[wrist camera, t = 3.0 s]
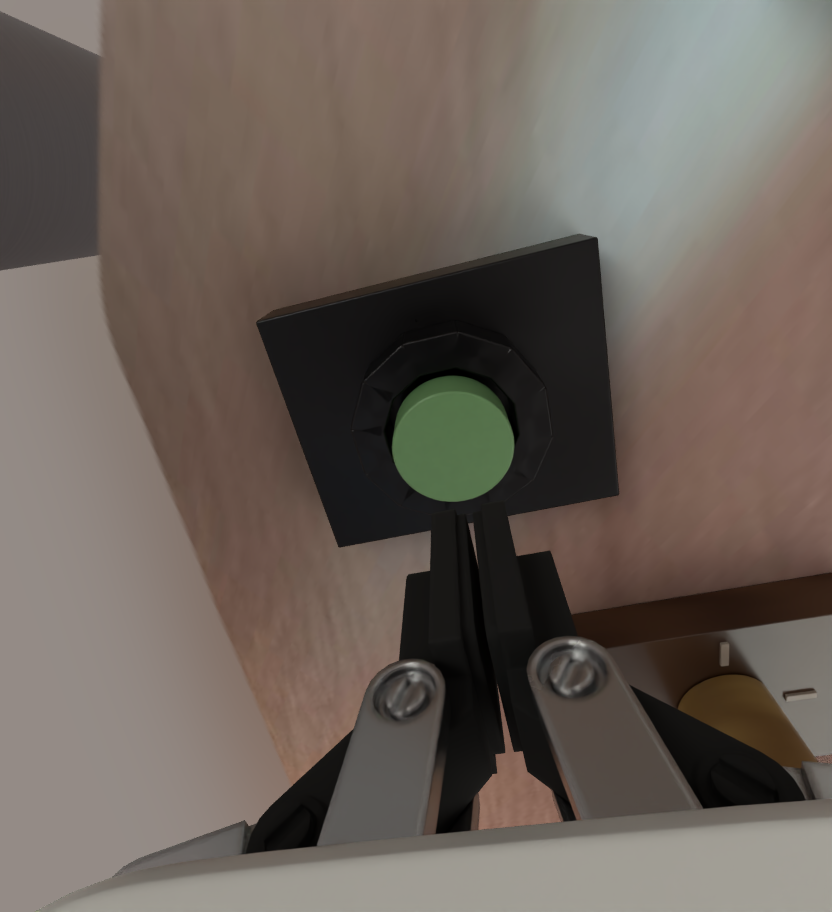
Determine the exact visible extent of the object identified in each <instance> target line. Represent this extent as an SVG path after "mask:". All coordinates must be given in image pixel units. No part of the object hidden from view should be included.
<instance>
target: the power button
mask: <svg viewBox="0 0 832 912" xmlns="http://www.w3.org/2000/svg"><path fill="white" fill-rule="evenodd" d="M392 454H393V459H394V462H395V465H396V468H397V470H398V472H399V473H400V475H401V476H402V478H403V479H404V480H405V481H406V482H407V484H408V485H409V486H411V487H412V488H413V489H414V490H416V491H417V492H419V493H420V494H422V495H424V496H427V497H429V498H432V499H435V500H440V501H447V502H458V501H465V500H469V499H473V498H475V497H478V496H480V495H482V494H484V493H486V492H488V491H489V490H490V489H492V488H493V487H494V486H495V485H497V484H498V483H499V481H500V480H501V479H502V478H503V477H504V475H505V474H506V472H507V471H508V469H509V467H510V465H511V462H512V459H513V454H514V435H513V431H512V428H511V425H510V422H509V420H508V417H507V414H506V411H505V409H504V407H503V404H502V403H501V401H500V399H499V398H498V397H497V396H496V394H495V393H494V392H493V391H492V390H491V389H490V388H488V387H487V386H485V385H484V384H482V383H480V382H478V381H476V380H474V379H471V378H467V377H463V376H443V377H438V378H434V379H431V380H429V381H426V382H424V383H423V384H421V385H419V386H418V387H416V388H415V389H414V390H413V391H412V392H411V393H410V394H409V395H408V396H407V397H406V398H405V400H404V401H403V403H402V404H401V406H400V408H399V411H398V413H397V417H396V421H395V428H394V434H393V441H392Z"/></svg>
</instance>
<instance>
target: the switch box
mask: <svg viewBox="0 0 832 912" xmlns="http://www.w3.org/2000/svg"><path fill="white" fill-rule="evenodd" d="M256 324H257V327H258V329H259V332H260V335H261V338H262V340H263V343H264V346H265V348H266V351H267V354H268V357H269V359H270V362H271V365H272V367H273V370H274V373H275V376H276V378H277V381H278V384H279V387H280V389H281V392H282V395H283V397H284V400H285V403H286V406H287V408H288V411H289V414H290V416H291V419H292V422H293V425H294V427H295V430H296V433H297V435H298V438H299V441H300V444H301V446H302V449H303V452H304V455H305V457H306V460H307V463H308V465H309V468H310V471H311V474H312V476H313V479H314V482H315V484H316V487H317V490H318V493H319V495H320V498H321V501H322V503H323V506H324V509H325V512H326V514H327V517H328V520H329V523H330V525H331V528H332V531H333V533H334V536H335V539H336V542H337V544H338V547H345V546H350V545H355V544H361V543H366V542H371V541H377V540H382V539H387V538H393V537H398V536H403V535H409V534H414V533H419V532H425V531H430V530H431V520H432V513H437V512H442V511H448V510H453V509H455V510H456V513H457V515H460V514H466V517H467V521H468V523H473V512H477V511H481V504H486V503H491V502H497V501H502V500H504V503H505V507H506V512H507V516H510V515H516V514H521V513H526V512H532V511H537V510H542V509H548V508H553V507H558V506H564V505H569V504H574V503H580V502H585V501H590V500H596V499H601V498H606V497H612V496H617V495H619V486H618V474H617V462H616V450H615V439H614V427H613V415H612V403H611V391H610V379H609V367H608V355H607V343H606V331H605V319H604V307H603V295H602V284H601V272H600V260H599V248H598V239H597V237H592V236H587V235H582V234H577V235H573V236H569V237H565V238H561V239H557V240H553V241H549V242H545V243H541V244H537V245H533V246H529V247H525V248H521V249H517V250H513V251H509V252H505V253H501V254H497V255H493V256H489V257H485V258H481V259H477V260H473V261H469V262H465V263H461V264H457V265H453V266H449V267H445V268H441V269H437V270H433V271H429V272H425V273H421V274H417V275H413V276H409V277H405V278H401V279H397V280H393V281H389V282H385V283H381V284H377V285H373V286H369V287H365V288H361V289H357V290H353V291H349V292H345V293H341V294H337V295H333V296H329V297H325V298H321V299H317V300H313V301H309V302H305V303H301V304H297V305H293V306H289V307H285V308H281V309H277V310H273V311H271V312H270V313H269V314H267V315H266V316H264V317H263V318H261V319H260V320H258V321H257V322H256ZM443 376H463V377H467V378H471V379H474V380H476V381H478V382H480V383H482V384H484V385H485V386H487V387H488V388H490V389H491V390H492V391H493V392H494V393H495V394H496V396H497V397H498V398H499V399H500V401H501V403H502V404H503V407H504V409H505V411H506V414H507V417H508V420H509V422H510V425H511V428H512V431H513V435H514V454H513V459H512V462H511V465H510V467H509V469H508V471H507V472H506V474H505V475H504V477H503V478H502V479H501V480H500V481H499V483H498V484H497V485H495V486H494V487H493V488H492V489H490V490H489V491H488V492H486V493H484V494H482V495H480V496H478V497H475V498H473V499H469V500H465V501H458V502H447V501H440V500H435V499H432V498H429V497H427V496H424V495H422V494H420V493H419V492H417V491H416V490H414V489H413V488H412V487H411V486H409V485H408V484H407V482H406V481H405V480H404V479H403V478H402V476H401V475H400V473H399V472H398V470H397V468H396V465H395V462H394V459H393V454H392V441H393V434H394V428H395V421H396V417H397V413H398V411H399V408H400V406H401V404H402V403H403V401H404V400H405V398H406V397H407V396H408V395H409V394H410V393H411V392H412V391H413V390H414V389H415V388H416V387H418V386H419V385H421V384H423V383H424V382H426V381H429V380H431V379H434V378H438V377H443Z"/></svg>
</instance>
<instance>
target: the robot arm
mask: <svg viewBox="0 0 832 912" xmlns="http://www.w3.org/2000/svg"><path fill="white" fill-rule="evenodd" d="M473 522H474V531H475V540H476V549H477V559H478V564H477V560H476V556H475V552H474V547H473V543H472V539H471V534H470V530H469V526H468V521H467V517H466V514H460V515H457V513H456V510H455V509H453V510H448V511H442V512H437V513H432V520H431V559H430V571H426V572H420V573H414V574H408V576H407V579H406V588H405V599H404V611H403V622H402V633H401V644H400V655H399V661H397V662H395V663H392V664H390V665H388V666H387V667H385V668H384V669H382V670H381V671H379V672H378V673H377V675H376V676H375V677H374V678H373V679H372V680H371V682H370V684H369V686H368V688H367V690H366V692H365V695H364V698H363V701H362V704H361V708H360V711H359V714H358V717H357V720H356V723H355V726H354V729H353V730H352V731H351V732H350V733H349V734H348V735H347V736H345V737H344V738H343V739H342V740H341V741H340V742H339V743H338V744H337V745H336V746H335V747H334V748H333V749H331V750H330V751H329V752H328V753H327V754H326V755H325V756H324V757H323V758H322V759H321V760H320V761H319V762H317V763H316V764H315V765H314V766H313V767H312V768H311V769H310V770H309V771H308V772H307V773H306V774H305V775H303V776H302V777H301V778H300V779H299V780H298V781H297V782H296V783H295V784H294V785H293V786H292V787H291V788H289V789H288V790H287V791H286V792H285V793H284V794H283V795H282V796H281V797H280V798H279V799H278V800H277V801H275V802H274V803H273V804H272V805H271V806H270V807H269V809H268V810H267V811H266V812H265V813H264V814H263V815H262V816H261V818H260V819H259V821H258V822H257V823H256V824H254V825H251V826H248V824H247V823H246V821H245V820H244V821H241V822H239V823H236V824H233V825H230V826H228V827H225V828H222V829H219V830H216V831H214V832H211V833H208V834H205V835H203V836H200V837H197V838H194V839H192V840H188V841H186V842H183V843H180V844H178V845H175V846H172V847H169V848H166V849H163V850H161V851H158V852H155V853H152V854H149V855H147V856H144V857H141V858H139V859H137V860H135V861H133V862H131V863H129V864H128V865H126V866H124V867H123V868H122V869H120V870H119V871H118V872H117V873H116V874H115V875H114V876H113V877H112V878H109V879H106V880H104V881H101V882H98V883H96V884H93V885H90V886H88V887H85V888H83V889H80V890H77V891H75V892H72V893H70V894H68V895H66V896H65V897H62V898H60V899H58V900H56V901H54V902H53V903H51V904H49V905H47V906H45V907H43V908H41V909H39V910H37V911H35V912H832V764H829V763H819V762H809V761H802V763H801V768H793V767H784V766H781V765H780V764H779V763H778V762H776V761H775V760H773V759H771V758H770V757H768V756H767V755H765V754H764V753H762V752H760V751H758V750H756V749H755V748H753V747H751V746H749V745H747V744H745V743H743V742H741V741H739V740H737V739H735V738H733V737H731V736H729V735H727V734H725V733H723V732H721V731H719V730H717V729H715V728H713V727H711V726H709V725H707V724H705V723H704V722H702V721H700V720H698V719H696V718H694V717H692V716H690V715H688V714H686V713H684V712H682V711H680V710H678V709H676V708H674V707H672V706H670V705H668V704H666V703H664V702H662V701H660V700H658V699H656V698H654V697H652V696H651V695H649V694H647V693H645V692H643V691H641V690H639V689H637V688H635V687H633V686H631V685H629V684H628V682H627V680H626V679H625V677H624V675H623V674H622V672H621V670H620V669H619V667H618V665H617V664H616V662H615V660H614V659H613V657H612V656H611V655H610V654H609V652H608V651H607V650H606V649H605V648H604V647H602V646H601V645H599V644H598V643H596V642H595V641H592V640H589V639H586V638H583V637H578V635H577V631H576V628H575V625H574V622H573V619H572V616H571V613H570V610H569V607H568V604H567V601H566V597H565V594H564V591H563V588H562V585H561V582H560V579H559V576H558V573H557V570H556V566H555V563H554V560H553V557H552V554H551V552H550V551H545V552H539V553H533V554H527V555H521V556H516V553H515V548H514V544H513V539H512V535H511V530H510V525H509V521H508V516H507V512H506V507H505V503H504V500H502V501H497V502H491V503H486V504H481V511H477V512H473ZM478 568H479V569H478ZM497 684H498V686H497ZM498 688H499V692H500V696H501V700H502V704H503V708H504V713H505V717H506V721H507V725H508V729H509V733H510V738H511V742H512V746H513V750H514V752H519V751H523V754H524V758H525V763H526V767H527V771H528V772H529V773H530V774H532V775H533V776H534V777H536V778H537V779H538V780H540V781H541V782H542V783H544V784H545V785H546V786H548V787H549V788H550V789H551V791H552V796H553V801H554V804H555V806H556V809H557V812H558V815H559V818H560V821H561V822H557V823H546V824H536V825H526V826H515V827H505V828H495V829H484V830H478V827H479V813H480V802H479V794H478V792H479V791H480V789H481V788H482V787H483V786H484V785H485V783H486V782H487V781H488V780H489V778H490V777H491V776H492V774H497V767H496V757H495V754H501V753H505V744H504V736H503V728H502V719H501V711H500V703H499V694H498Z"/></svg>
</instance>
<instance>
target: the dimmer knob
mask: <svg viewBox="0 0 832 912" xmlns="http://www.w3.org/2000/svg"><path fill="white" fill-rule="evenodd" d="M678 710H680V711H682V712H684V713H686V714H688V715H690V716H692V717H694V718H696V719H698V720H700V721H702V722H704V723H705V724H707V725H709V726H711V727H713V728H715V729H717V730H719V731H721V732H723V733H725V734H727V735H729V736H731V737H733V738H735V739H737V740H739V741H741V742H743V743H745V744H747V745H749V746H751V747H753V748H755V749H756V750H758V751H760V752H762V753H764V754H765V755H767V756H768V757H770V758H771V759H773V760H775V761H776V762H778V763H779V764H780V765H781V766H784V767H793V768H801V763H802V761H809V762H818V761H817V759H816V758H815V756H814V755H813V753H812V752H811V750H810V749H809V748H808V746H807V745H806V743H805V742H804V740H803V739H802V738H801V736H800V735H799V733H798V732H797V730H796V729H795V728H794V726H793V725H792V723H791V722H790V720H789V719H788V717H787V716H786V715H785V713H784V712H783V710H782V709H781V707H780V706H779V705H778V703H777V702H776V700H775V699H774V697H773V696H772V694H771V693H770V692H769V690H768V689H767V687H766V686H765V685H764V684H763V683H761V682H760V681H758V680H757V679H754V678H752V677H749V676H744V675H722V676H717V677H714V678H710V679H708V680H705V681H703V682H701V683H699V684H697V685H696V686H694V687H693V688H691V689H690V690H689V691H688V692H687V693H686V694H685V695H684V696H683V698H682V699H681V701H680V703H679V706H678Z"/></svg>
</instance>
